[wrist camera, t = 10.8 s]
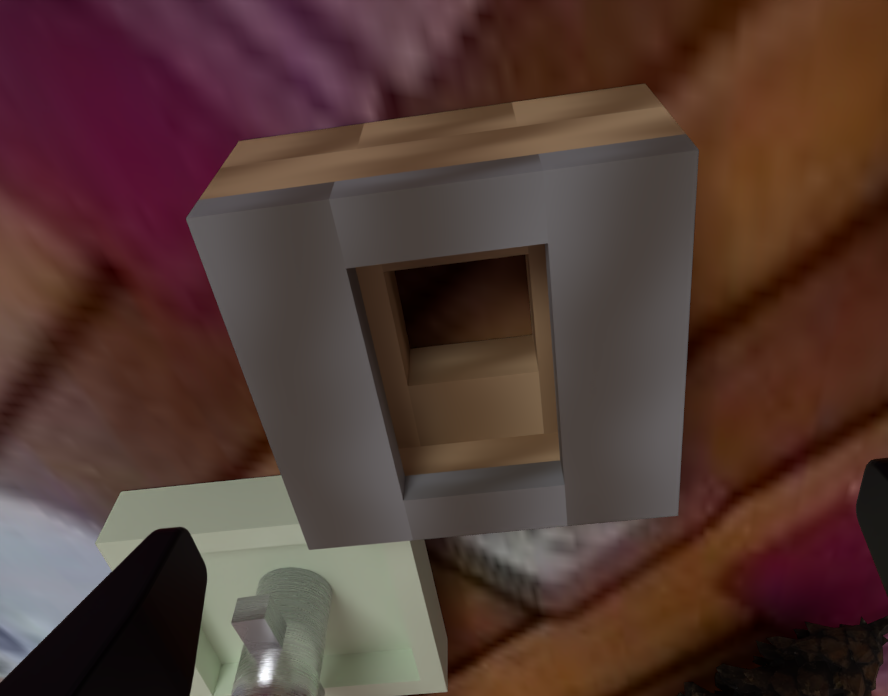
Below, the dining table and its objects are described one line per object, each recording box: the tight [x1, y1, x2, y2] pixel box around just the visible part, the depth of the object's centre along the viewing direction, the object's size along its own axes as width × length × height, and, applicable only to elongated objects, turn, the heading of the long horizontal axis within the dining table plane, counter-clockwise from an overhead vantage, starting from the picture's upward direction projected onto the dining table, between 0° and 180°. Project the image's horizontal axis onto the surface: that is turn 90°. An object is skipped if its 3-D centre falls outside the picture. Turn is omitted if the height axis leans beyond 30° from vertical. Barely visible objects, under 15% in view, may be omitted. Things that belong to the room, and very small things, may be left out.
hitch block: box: [186, 84, 699, 550], centre depth 21 cm, size 11×11×5 cm
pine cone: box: [677, 616, 888, 696], centre depth 31 cm, size 18×5×5 cm
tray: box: [95, 475, 448, 696], centre depth 30 cm, size 11×11×2 cm
